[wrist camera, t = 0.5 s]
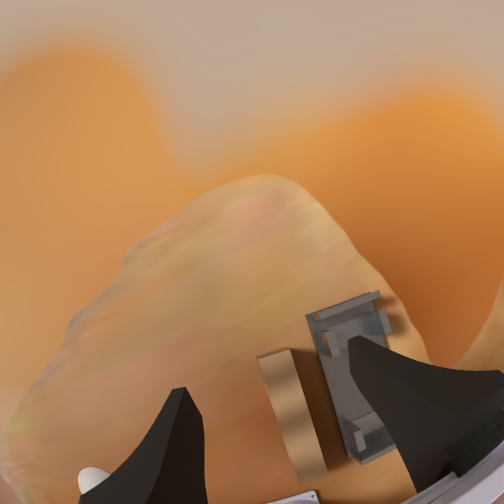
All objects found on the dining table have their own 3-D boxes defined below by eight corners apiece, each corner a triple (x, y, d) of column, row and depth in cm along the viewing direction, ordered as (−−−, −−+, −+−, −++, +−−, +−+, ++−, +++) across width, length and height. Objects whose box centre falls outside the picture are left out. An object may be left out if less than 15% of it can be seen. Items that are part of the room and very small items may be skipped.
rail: (318, 460, 29) (328, 475, 24) (293, 469, 29) (300, 485, 24) (283, 347, 34) (289, 349, 29) (255, 356, 33) (258, 359, 28)
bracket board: (402, 427, 30) (419, 435, 26) (346, 456, 29) (358, 468, 25) (366, 292, 36) (381, 287, 31) (305, 315, 35) (313, 312, 30)
